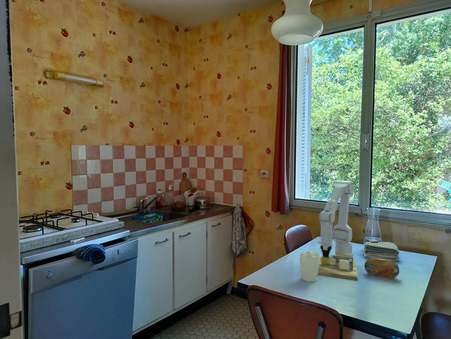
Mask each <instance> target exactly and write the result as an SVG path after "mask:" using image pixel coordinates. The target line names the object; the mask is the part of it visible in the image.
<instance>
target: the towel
mask: <svg viewBox="0 0 451 339" xmlns="http://www.w3.org/2000/svg"><path fill="white" fill-rule="evenodd" d="M371 242H372V241H369V242H367V241H365V243H364V246H363V247H362V251H363V256H364V258H366V259H369V258H378V259H385V260H391V261H394V262H397V261H399V260H400V257H399V255H400V250H399V248H398V246H397V244H395V243H393V242H390V241H377V242H378V243H371Z"/></svg>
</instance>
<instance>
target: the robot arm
mask: <svg viewBox="0 0 451 339" xmlns="http://www.w3.org/2000/svg"><path fill="white" fill-rule="evenodd" d="M332 190H333V191H332V195H331V197H330V200H328V201H327V202H326V204H325V206H324V208H323V210H322V211H321V212H320V213H319V215H318V219H319V225H320V240H319V241H317V243H318V244H320V247H319V248H320V251H321V253H322V256H323V257H329V256H330V253H331V250H332V249H333V241H334V243H335V244H334V253H333V254H331V256H333V257H335V258H336V252H339V253H347V254H353V245H352V242H351V241H352V240H353V229H352V228H351V227H350V226H349V224H348V220H349V211H350V210H349V208H350V199H351V197H352V196H353V194H354V183H353V181H352V180H340V179H339V180H337V179H334V181H333V182H332ZM339 200H340V201H339ZM338 201H339V202H338ZM338 203H339V204H338ZM338 207H339V212H338V220H337V222H338V223H337V224H335V225H334V224H333V223H334V222H335V218H336V212H337V209H338ZM333 225H334V226H333ZM340 258H343V257H337V259H340ZM345 259H347V258H345Z"/></svg>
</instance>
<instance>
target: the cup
mask: <svg viewBox="0 0 451 339" xmlns="http://www.w3.org/2000/svg"><path fill="white" fill-rule="evenodd" d="M319 257H320V254H319V253H318V252H315V251H310V250H309V251H306V250H305V251H301V252H300V253H299V264H300V273H301V279H302V280H303V281H304V282H307V283H314V282H316V281H317V278H318V275H319V274H318V269H319V263H320V258H319Z"/></svg>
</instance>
